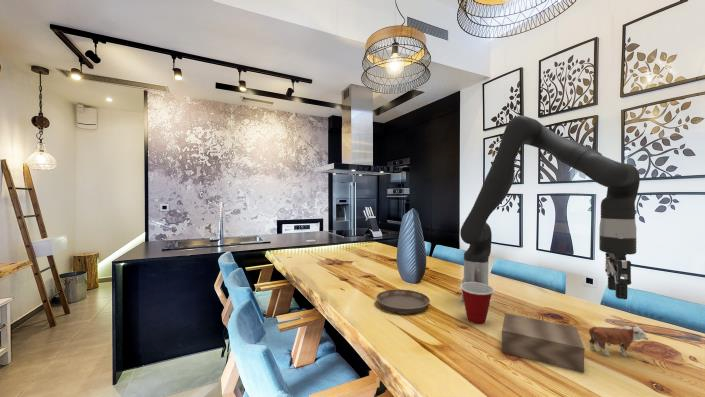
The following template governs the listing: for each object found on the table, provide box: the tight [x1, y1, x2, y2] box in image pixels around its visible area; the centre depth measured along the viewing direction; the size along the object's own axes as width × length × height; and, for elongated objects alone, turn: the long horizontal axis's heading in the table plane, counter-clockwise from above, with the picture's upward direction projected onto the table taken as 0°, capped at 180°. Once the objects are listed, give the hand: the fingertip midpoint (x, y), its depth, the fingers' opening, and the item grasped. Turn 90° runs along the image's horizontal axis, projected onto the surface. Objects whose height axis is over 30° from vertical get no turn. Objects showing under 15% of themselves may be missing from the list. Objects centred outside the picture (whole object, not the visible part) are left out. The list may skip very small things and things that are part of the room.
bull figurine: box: [588, 325, 649, 358], centre depth 79 cm, size 4×13×8 cm, turn 79°
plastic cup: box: [459, 282, 495, 325], centre depth 100 cm, size 11×11×12 cm
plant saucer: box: [375, 289, 431, 315], centre depth 114 cm, size 21×21×3 cm
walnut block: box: [501, 313, 586, 374], centre depth 81 cm, size 18×14×6 cm
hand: (617, 294), depth 79 cm, fingers open, 8 cm apart
